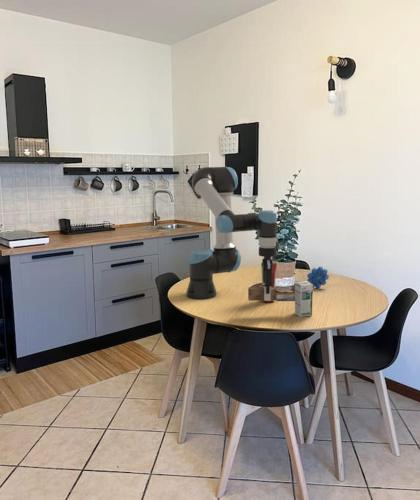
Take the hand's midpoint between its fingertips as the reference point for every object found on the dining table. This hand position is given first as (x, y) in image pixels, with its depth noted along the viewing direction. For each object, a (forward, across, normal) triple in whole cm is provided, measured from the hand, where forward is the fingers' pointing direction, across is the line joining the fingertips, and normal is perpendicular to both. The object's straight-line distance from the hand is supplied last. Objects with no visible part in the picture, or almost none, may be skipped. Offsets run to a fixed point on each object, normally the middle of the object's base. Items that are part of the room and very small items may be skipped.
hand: (266, 298), depth 195 cm
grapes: (+7, +43, -32) cm, 54 cm away
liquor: (+7, +20, -3) cm, 22 cm away
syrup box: (+8, 0, -16) cm, 18 cm away
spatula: (0, 0, -2) cm, 2 cm away
